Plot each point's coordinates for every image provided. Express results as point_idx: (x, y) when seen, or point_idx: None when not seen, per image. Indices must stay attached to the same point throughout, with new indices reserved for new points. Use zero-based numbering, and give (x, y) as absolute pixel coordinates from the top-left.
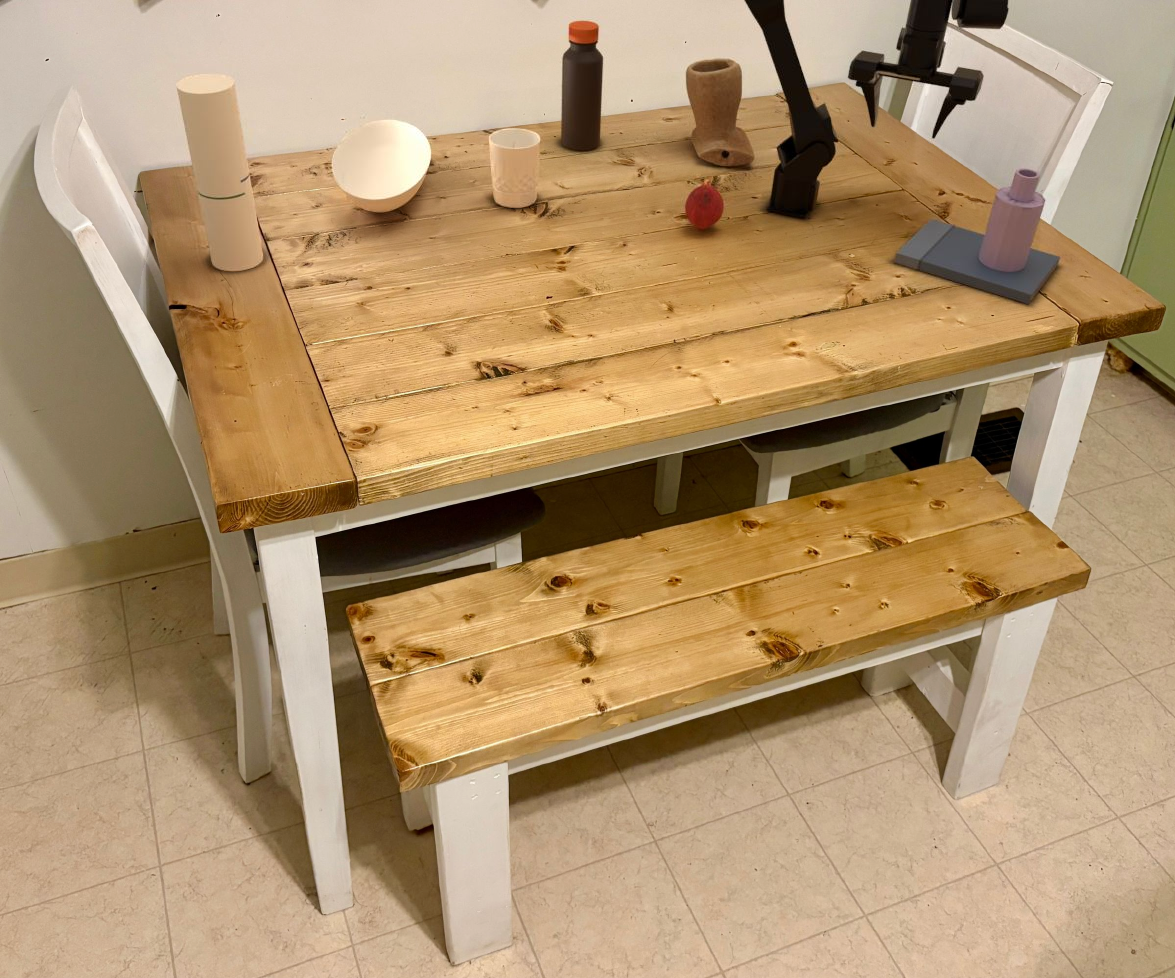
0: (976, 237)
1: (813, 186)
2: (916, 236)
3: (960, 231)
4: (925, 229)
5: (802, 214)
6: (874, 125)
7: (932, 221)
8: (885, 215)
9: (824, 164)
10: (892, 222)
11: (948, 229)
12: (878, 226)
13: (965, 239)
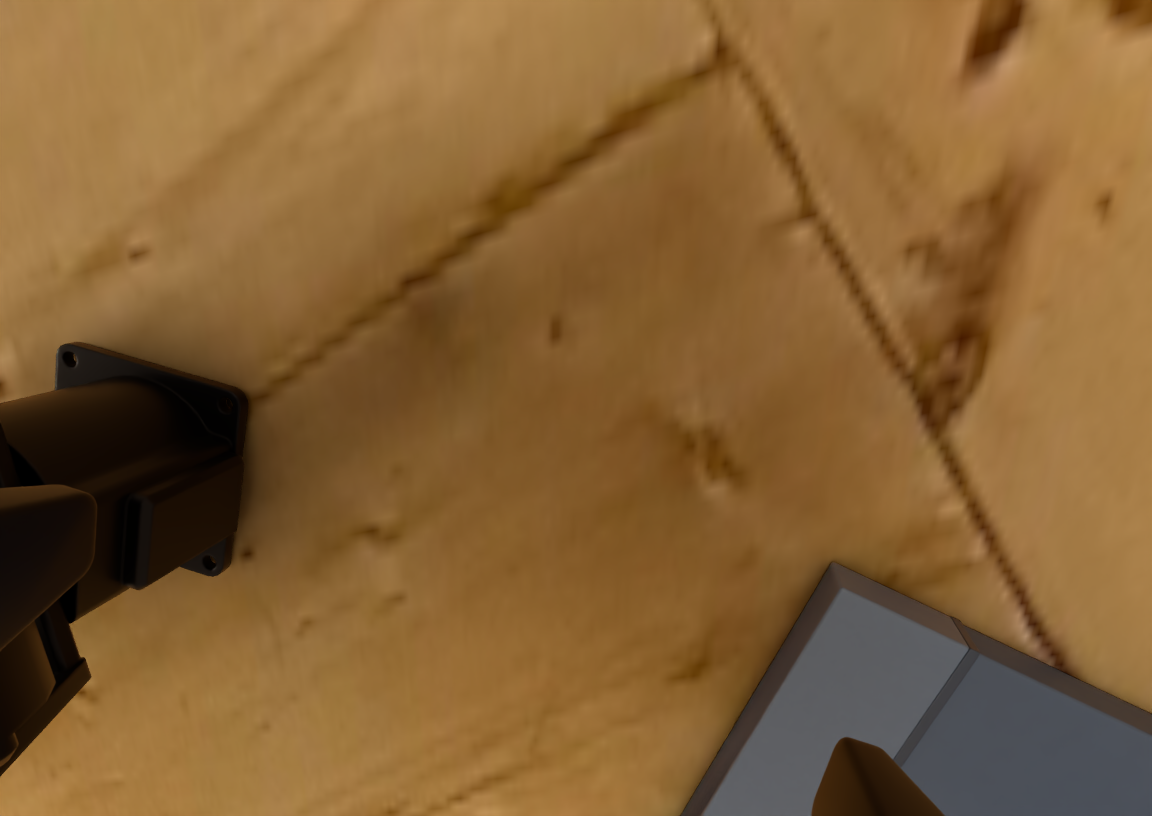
0: (1087, 777)
1: (128, 584)
2: (731, 798)
3: (999, 717)
4: (789, 721)
5: (208, 553)
6: (78, 565)
7: (843, 625)
8: (601, 448)
9: (22, 751)
10: (636, 523)
11: (927, 705)
12: (564, 579)
13: (1010, 802)
